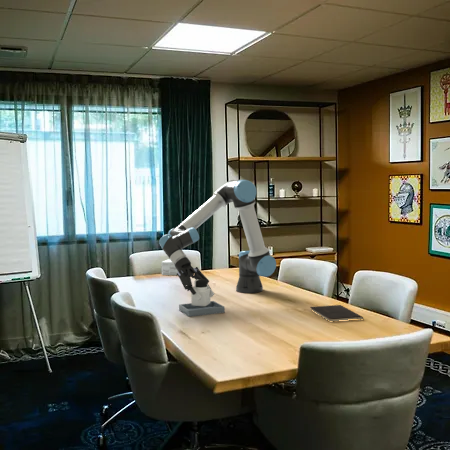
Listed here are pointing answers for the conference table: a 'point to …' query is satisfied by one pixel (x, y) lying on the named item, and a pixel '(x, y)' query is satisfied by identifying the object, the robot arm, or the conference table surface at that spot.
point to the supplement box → (168, 268)
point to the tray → (201, 309)
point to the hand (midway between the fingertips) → (206, 297)
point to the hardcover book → (335, 313)
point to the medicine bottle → (201, 293)
